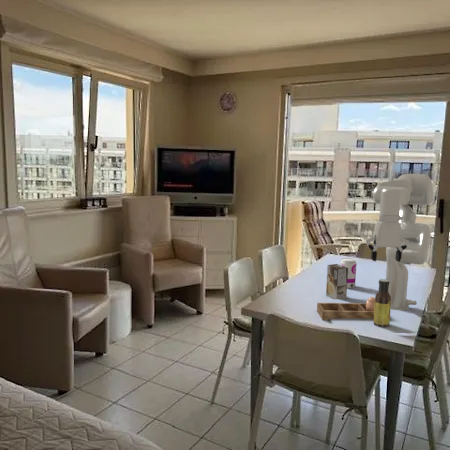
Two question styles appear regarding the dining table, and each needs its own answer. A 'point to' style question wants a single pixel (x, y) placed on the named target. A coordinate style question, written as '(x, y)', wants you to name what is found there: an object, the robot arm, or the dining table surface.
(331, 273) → the coffee box
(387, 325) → the sauce bottle
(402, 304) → the robot arm
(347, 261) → the supplement can
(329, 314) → the caddy
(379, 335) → the dining table surface
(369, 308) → the brown egg
